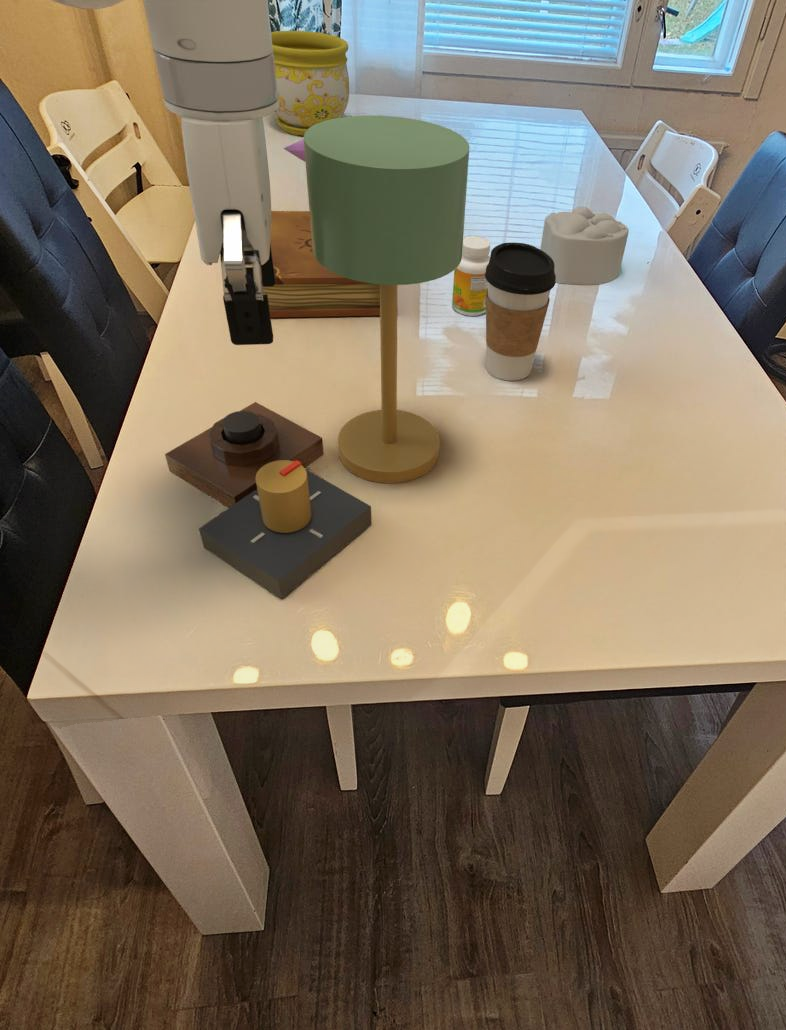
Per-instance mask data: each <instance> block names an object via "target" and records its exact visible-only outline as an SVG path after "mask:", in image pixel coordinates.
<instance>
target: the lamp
mask: <svg viewBox="0 0 786 1030" xmlns="http://www.w3.org/2000/svg"><path fill="white" fill-rule="evenodd" d="M303 139H304V150H305V162H304V163H305V174H306V186H307V197H308V211H310V223H311V236H312V248H313V254H314V256H315V258H316V260H317V261H318V262H319V263H320V264H321V265H322V266H323V267H325V268H326V269H328V270H329V271H331V272H333V273H335V274H337V275H340V276H343V277H345V278H349V279H352V280H356V281H360V282H365V283H372V284H380V315H379V325H380V326H379V327H380V328H379V329H380V330H379V331H380V333H379V334H380V335H379V336H380V398H381V401H380V402H381V404H380V405H381V409H376V410H371V411H366V412H363V413H361V414H359V415H356V416H354V417H352V418H350V419H349V420H348V421H347V422H346V423H345V424H344V425H343V426H342V428H341V429H340V431H339V433H338V436H337V448H338V449H337V451H338V457H339V459H340V462H341V463H342V465H343V466H344V467H345V468H346V469H347V471H349V472H350V473H351V474H353V475H354V476H356V477H358V478H360V479H363V480H366V481H368V482H374V483H378V484H379V483H380V484H401V483H406V482H409V481H413V480H416V479H418V478H420V477H423V476H424V475H426V474H427V473H429V472H430V471H431V470H432V469H433V468H434V467H435V465H437V463H438V460H439V457H440V447H441V439H440V438H441V437H440V435H439V432H438V430H437V429H436V427H435V426H434V425H433V424H432V423H431V422H430V421H429V420H427V419H426V418H425V417H422V416H420V415H419V414H416V413H413V412H410V411H406V410H401V409H398V286H407V285H417V284H422V283H427V282H431V281H435V280H438V279H441V278H443V277H445V276H447V275H449V274H451V273H452V272H454V270H455V269H456V268H457V267H458V265H459V264H460V262H461V259H462V248H463V238H464V234H465V233H464V231H465V219H466V218H465V217H466V203H467V202H466V201H467V190H468V189H467V188H468V173H469V159H470V144H469V141H468V140H467V139H466V138H465V137H464V136H462V135H461V134H460V133H458V132H456V131H455V130H452V129H450V128H447V127H446V126H443V125H439V124H436V123H433V122H429V121H425V120H420V119H414V118H410V117H409V118H408V117H403V116H402V117H401V116H393V115H350V116H342V117H341V118H335V119H331V120H326V121H323V122H320V123H318V124H315V125H313V126H312V127H310V128H309V129H308V130H307V131H306V132H305V134H304V136H303Z"/></svg>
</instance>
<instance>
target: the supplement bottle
mask: <svg viewBox="0 0 786 1030" xmlns="http://www.w3.org/2000/svg"><path fill="white" fill-rule="evenodd" d="M490 253H491V242H490V241H489V240H488V239H487V238H485V237H482V236H476V235H475V236H474V235H470V236H465V237H463V248H462V259H461V262H460V264H459V265H458V267H457V268H456V269H455V270H454V271H453V284H452V298H451V299H452V300H451V307H452V309H453V310H454V311H455V312H457V313H459V314H460V315H464V316H469V317H476V316H480V315H483V314H486V291H487V289H488V281H487V280H486V278H485V272H486V267H487V265H488V264H489V260H490Z"/></svg>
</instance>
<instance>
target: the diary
mask: <svg viewBox="0 0 786 1030" xmlns="http://www.w3.org/2000/svg"><path fill="white" fill-rule="evenodd" d="M270 244H271V252H272V260H273V267H274V275H275V285H274V286H272V287H263V294H267V295H268V303H269V310H270V317H271V318H310V317H311V318H313V317H314V318H315V317H316V318H317V317H318V318H320V317H365V316H366V317H368V316H369V317H371V316H372V317H373V316H380V284H372V283H365V282H360V281H356V280H352V279H349V278H345V277H343V276H340V275H337V274H335V273H333V272H331V271H329V270H328V269H326V268H325V267H323V266H322V265H321V264H320V263H319V262H318V261H317V260H316V258H315V256H314V254H313V248H312V236H311V223H310V211H309V210H271V239H270Z"/></svg>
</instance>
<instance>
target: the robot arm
mask: <svg viewBox="0 0 786 1030" xmlns="http://www.w3.org/2000/svg"><path fill="white" fill-rule="evenodd" d="M51 1H53V2H54V3H58V4H61V5H63V6H67V7H72V8H77V9H81V10H100V9H101V10H102V9H105V8H110V7H114V6H115V5H118V4H120V3H122V2H124V1H125V0H51ZM142 2H143V6H144V12H145V16H146V17H145V18H146V22H147V26H148V31H149V37H150V40H151V45H152V50H153V54H154V59H155V64H156V69H157V73H158V79H159V84H160V89H161V93H162V98H163V99H162V100H163V104H164V107H165V108H166V109H167V110H168V111H169V112H171V113H172V114H174V115H177V116H180V120H181V132H182V142H183V151H184V160H185V166H186V173H187V180H188V187H189V193H190V198H191V204H192V211H193V217H194V222H195V228H196V236H197V241H198V247H199V254H200V260H201V261H202V262H203V263H204V264H205V265H206V266H212V265H213V264H218V263H219V260H220V268H221V279H222V289H223V295H222V296H223V297H222V301H223V307H224V310H225V316H226V320H227V321H226V322H227V327H228V332H229V336H230V342H231V343H232V344H233V345H234V346H250V345H253V346H254V345H255V346H256V345H271V344H273V342H274V332H273V324H272V317H270V310H269V303H268V295H267V294H263V287H272V286H274V285H275V275H274V267H273V260H272V252H271V244H270V239H271V211H272V196H271V195H272V194H271V193H272V191H271V182H270V181H271V180H270V178H271V177H270V169H269V159H268V151H267V141H266V134H265V125H264V124H265V123H264V118H265V117H267V116H271V115H273V114H274V113H275V112H276V111H277V110H278V108H279V103H278V93H277V84H276V74H275V65H274V56H273V47H272V37H271V32H272V29H271V19H270V9H269V1H268V0H142Z"/></svg>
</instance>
